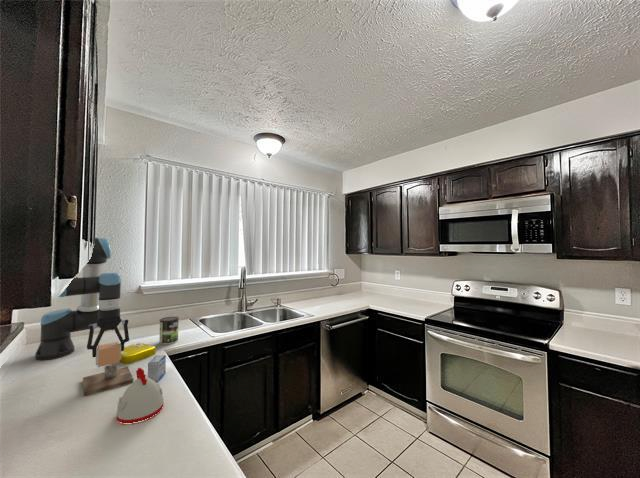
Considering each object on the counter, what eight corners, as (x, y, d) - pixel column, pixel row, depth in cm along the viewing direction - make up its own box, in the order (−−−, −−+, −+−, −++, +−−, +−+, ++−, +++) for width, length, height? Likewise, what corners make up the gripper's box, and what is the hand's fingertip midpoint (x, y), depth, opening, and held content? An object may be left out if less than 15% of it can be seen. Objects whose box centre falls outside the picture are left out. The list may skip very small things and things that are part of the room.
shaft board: (84, 396, 105) (84, 379, 105) (82, 381, 117) (83, 366, 117) (133, 382, 116) (133, 367, 116) (127, 369, 128) (127, 355, 128)
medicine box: (158, 381, 117) (158, 361, 117) (147, 382, 116) (147, 362, 116) (165, 373, 124) (166, 354, 125) (155, 374, 124) (155, 355, 124)
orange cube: (98, 367, 112) (99, 349, 112) (97, 361, 117) (97, 345, 117) (119, 362, 116) (119, 345, 116) (117, 357, 121) (117, 341, 122)
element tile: (110, 360, 139) (110, 350, 139) (139, 349, 153) (139, 341, 153) (127, 365, 133) (128, 355, 133) (156, 354, 147) (157, 345, 147)
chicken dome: (155, 396, 105) (155, 358, 106) (169, 410, 97) (170, 368, 97) (111, 413, 95) (112, 370, 95) (123, 430, 86) (124, 383, 86)
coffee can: (182, 339, 168) (182, 317, 168) (168, 345, 158) (168, 321, 159) (169, 337, 171) (170, 315, 172) (155, 343, 162) (155, 319, 162)
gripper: (79, 313, 108) (77, 371, 107) (138, 306, 121) (137, 357, 121) (78, 310, 113) (77, 365, 112) (135, 303, 127) (134, 352, 126)
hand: (108, 361), depth 116 cm, fingers closed on orange cube, 7 cm apart
